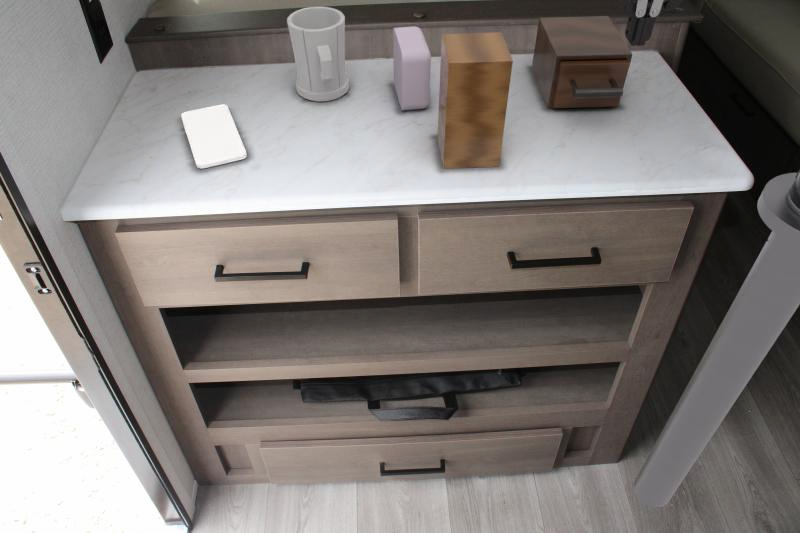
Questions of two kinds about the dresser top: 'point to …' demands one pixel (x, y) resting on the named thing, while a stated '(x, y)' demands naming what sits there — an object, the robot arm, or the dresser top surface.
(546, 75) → the cabinet
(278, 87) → the dresser top surface
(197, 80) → the dresser top surface
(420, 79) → the electronic device
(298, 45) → the cup
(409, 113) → the dresser top surface
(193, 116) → the smartphone
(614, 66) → the drawer
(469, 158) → the stand
